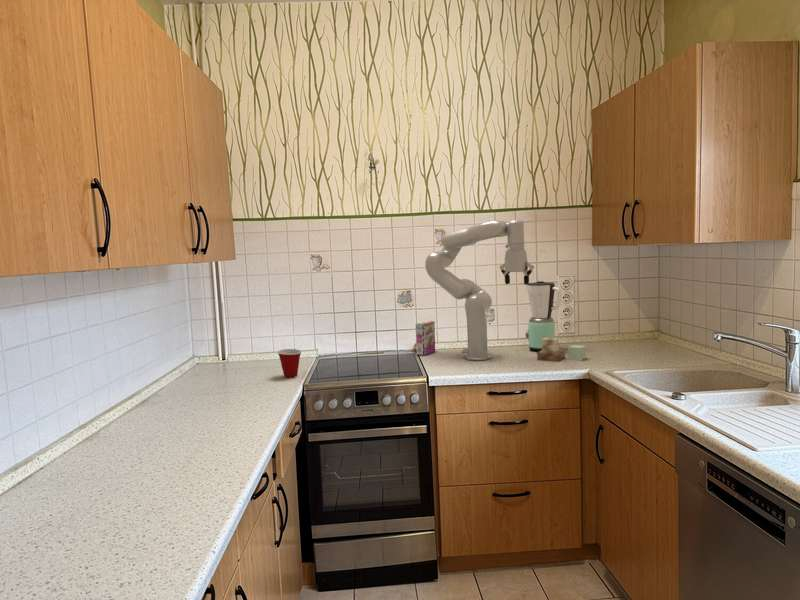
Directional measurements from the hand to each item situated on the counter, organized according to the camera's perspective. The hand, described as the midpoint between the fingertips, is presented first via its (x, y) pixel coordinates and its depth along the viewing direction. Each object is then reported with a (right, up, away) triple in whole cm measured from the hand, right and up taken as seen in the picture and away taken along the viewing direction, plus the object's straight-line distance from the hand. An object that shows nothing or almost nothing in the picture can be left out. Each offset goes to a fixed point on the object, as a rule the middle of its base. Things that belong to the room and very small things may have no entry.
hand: (516, 284), depth 277 cm
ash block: (+17, -32, +5) cm, 36 cm away
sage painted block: (+29, -35, +2) cm, 45 cm away
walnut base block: (+17, -36, +5) cm, 40 cm away
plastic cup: (-104, -42, -8) cm, 112 cm away
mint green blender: (+19, -33, +26) cm, 46 cm away
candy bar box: (-41, -35, +31) cm, 62 cm away
